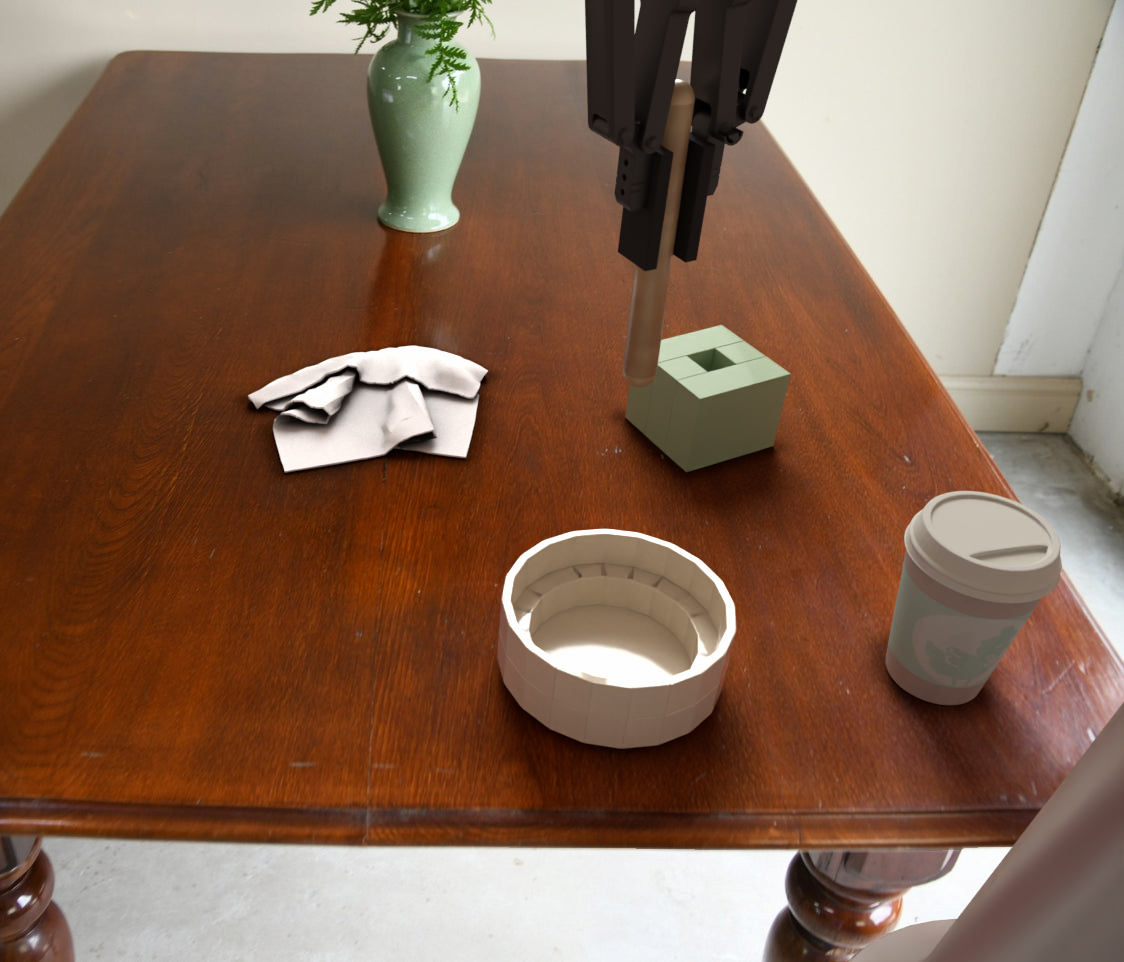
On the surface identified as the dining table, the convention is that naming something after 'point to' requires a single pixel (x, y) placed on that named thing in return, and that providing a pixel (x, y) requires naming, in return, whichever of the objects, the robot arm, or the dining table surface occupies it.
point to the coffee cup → (967, 592)
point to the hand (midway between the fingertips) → (656, 255)
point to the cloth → (374, 406)
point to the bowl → (615, 637)
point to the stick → (655, 283)
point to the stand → (709, 399)
